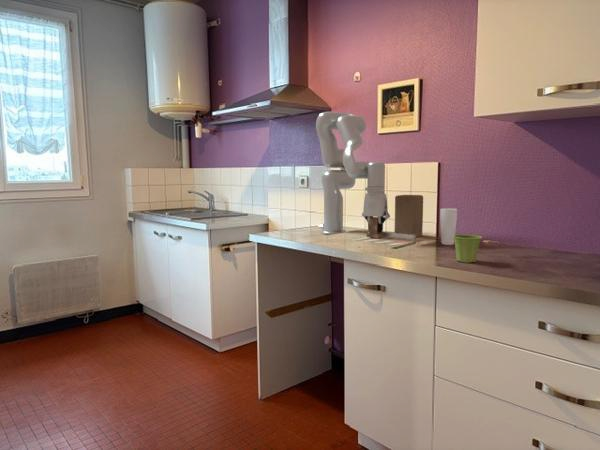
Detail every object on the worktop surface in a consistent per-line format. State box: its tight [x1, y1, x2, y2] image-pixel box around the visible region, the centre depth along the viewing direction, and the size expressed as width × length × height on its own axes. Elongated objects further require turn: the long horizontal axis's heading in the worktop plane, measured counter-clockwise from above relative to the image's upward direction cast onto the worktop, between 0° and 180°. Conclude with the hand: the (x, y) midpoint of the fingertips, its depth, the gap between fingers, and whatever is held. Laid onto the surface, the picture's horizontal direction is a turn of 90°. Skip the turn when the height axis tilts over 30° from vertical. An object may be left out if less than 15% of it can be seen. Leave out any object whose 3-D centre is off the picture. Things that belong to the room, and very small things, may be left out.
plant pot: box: [452, 234, 483, 264], centre depth 150 cm, size 9×9×9 cm
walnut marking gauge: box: [365, 216, 384, 238], centre depth 194 cm, size 6×5×8 cm
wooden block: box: [393, 194, 424, 238], centre depth 200 cm, size 10×10×20 cm
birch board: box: [349, 231, 417, 250], centre depth 188 cm, size 23×16×4 cm
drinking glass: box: [439, 207, 458, 246], centre depth 185 cm, size 7×7×15 cm
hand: (375, 231), depth 195 cm, fingers closed on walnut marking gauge, 4 cm apart
